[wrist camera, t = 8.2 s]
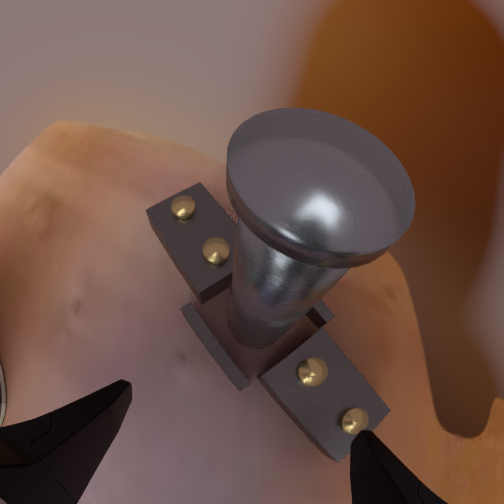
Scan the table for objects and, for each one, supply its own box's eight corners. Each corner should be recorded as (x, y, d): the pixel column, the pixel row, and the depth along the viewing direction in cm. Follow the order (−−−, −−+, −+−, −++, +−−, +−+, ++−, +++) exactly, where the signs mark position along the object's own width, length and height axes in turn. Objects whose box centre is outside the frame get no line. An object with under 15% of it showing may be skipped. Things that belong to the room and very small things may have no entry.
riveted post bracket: (386, 395, 17) (408, 393, 14) (308, 469, 14) (322, 480, 11) (215, 193, 24) (216, 169, 21) (135, 236, 21) (126, 215, 18)
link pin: (296, 346, 18) (443, 235, 5) (229, 360, 17) (252, 269, 4) (280, 285, 20) (363, 113, 8) (217, 295, 20) (214, 109, 7)
